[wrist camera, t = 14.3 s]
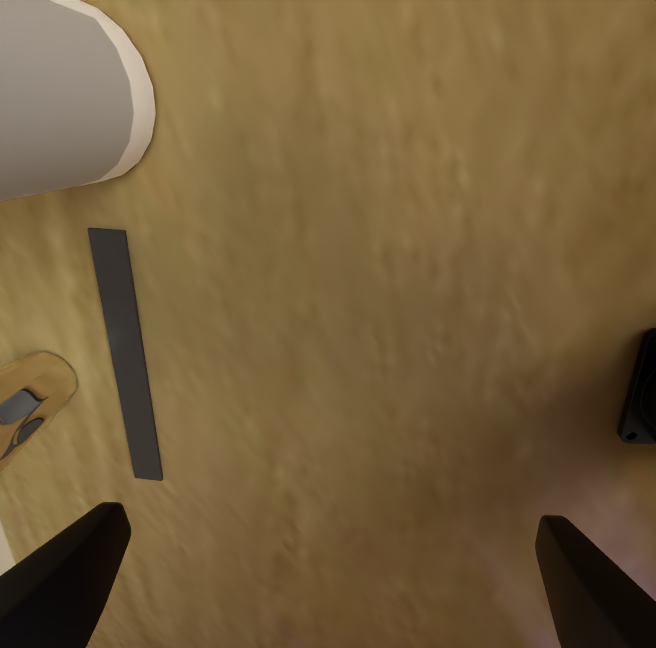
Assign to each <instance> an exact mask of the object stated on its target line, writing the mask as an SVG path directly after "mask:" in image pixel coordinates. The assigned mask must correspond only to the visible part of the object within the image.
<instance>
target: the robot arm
mask: <svg viewBox="0 0 656 648" xmlns="http://www.w3.org/2000/svg"><path fill="white" fill-rule="evenodd" d="M655 338H656V328H653V329H651V330H649V331H647V332H646V333H645V334H644V336H643V339H642V342H641V346H640V350H639V353H638V357H637V361H636V364H635V368H634V372H633V375H632V379H631V382H630V386H629V390H628V393H627V397H626V401H625V404H624V408H623V412H622V415H621V419H620V423H619V426H618V430H617V434H618V436H619V437H620V438H621V440H622V441H623V442H625V443H629V444H656V342H653V341H654V340H655ZM630 432H632V433H630ZM628 433H630V434H628ZM627 434H628V435H627ZM130 536H131V526H130V523H129V521H128V518H127V515H126V512H125V510H124V507H123V505H122V504H121V503H118V502H103V503H101V504H99V505H97V506H96V507H95V508H93V509H92V510H91V511H89V512H88V513H86V514H85V515H84V516H82V517H81V518H79V519H78V520H77V521H75V522H74V523H73V524H71V525H70V526H68V527H67V528H66V529H64V530H63V531H62V532H60V533H59V534H57V535H56V536H55V537H53V538H52V539H51V540H49V541H48V542H46V543H45V544H44V545H42V546H41V547H40V548H38V549H37V550H35V551H34V552H33V553H31V554H30V555H29V556H27V557H26V558H24V559H23V560H22V561H20V562H19V563H18V564H16V565H15V566H13V567H12V568H11V569H10V570H8V571H7V572H5V573H4V574H3V575H1V576H0V648H86V646H87V644H88V642H89V640H90V638H91V635H92V633H93V631H94V629H95V627H96V625H97V623H98V621H99V618H100V616H101V614H102V612H103V609H104V607H105V604H106V602H107V599H108V597H109V594H110V591H111V589H112V586H113V583H114V581H115V578H116V575H117V573H118V570H119V567H120V564H121V562H122V559H123V556H124V554H125V551H126V548H127V546H128V543H129V540H130ZM535 549H536V555H537V559H538V563H539V567H540V571H541V575H542V579H543V582H544V586H545V590H546V594H547V598H548V602H549V606H550V609H551V613H552V617H553V621H554V625H555V628H556V632H557V635H558V639H559V642H560V645H561V648H656V601H654V600H653V599H652V598H651V597H650V596H649V595H648V594H647V593H646V592H645V591H644V590H643V589H642V588H641V587H639V586H638V585H637V584H636V583H635V582H634V581H633V580H632V579H631V578H630V577H629V576H628V575H627V574H626V573H625V572H623V571H622V570H621V569H620V568H619V567H618V566H617V565H616V564H615V563H614V562H613V561H612V560H611V559H610V558H608V557H607V556H606V555H605V554H604V553H603V552H602V551H601V550H600V549H599V548H598V547H597V546H596V545H595V544H594V543H592V542H591V541H590V540H589V539H588V538H587V537H586V536H585V535H584V534H583V533H582V532H581V531H580V530H579V529H578V528H576V527H575V526H574V525H573V524H572V523H571V522H570V521H569V520H568V519H567V518H565V517H563V516H558V515H544V516H542V517H541V519H540V522H539V527H538V532H537V537H536V542H535Z"/></svg>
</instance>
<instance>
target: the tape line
mask: <svg viewBox="0 0 656 648" xmlns="http://www.w3.org/2000/svg"><path fill="white" fill-rule="evenodd" d="M88 233H89V239H90V244H91V249H92V254H93V260H94V265H95V270H96V276H97V281H98V286H99V291H100V297H101V302H102V307H103V312H104V318H105V323H106V328H107V333H108V339H109V344H110V349H111V355H112V360H113V365H114V370H115V376H116V381H117V386H118V391H119V397H120V402H121V407H122V413H123V418H124V423H125V428H126V434H127V439H128V444H129V449H130V455H131V460H132V465H133V470H134V476H135V478H141V479H150V480H159V481H162V480H163V474H162V468H161V461H160V454H159V448H158V441H157V435H156V428H155V421H154V415H153V408H152V402H151V395H150V389H149V382H148V375H147V369H146V362H145V356H144V349H143V343H142V336H141V329H140V323H139V316H138V310H137V303H136V296H135V290H134V283H133V277H132V270H131V264H130V257H129V250H128V244H127V237H126V231H124V230H111V229H98V228H88Z"/></svg>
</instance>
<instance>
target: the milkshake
mask: <svg viewBox="0 0 656 648" xmlns="http://www.w3.org/2000/svg"><path fill="white" fill-rule="evenodd" d="M76 389H77V382H76V376H75V372H74V371H73V370H72V369H71V368H70V366H69V365H68V364H67V363H66V362H65V361H64V360H63V359H62V358H60V357H57V356H55V355H52V354H50V353H47V352H40V353H34V354H29V355H27V356H25V357H23V358H21V359H19V360H17V361H16V362H14V363H12V364H10V365H8V366H6V367H5V368H3V369H1V370H0V474H1V473H2V471H3V470H4V469H5V468H6V467H7V466H8V465H9V463H10V462H11V461H12V459H13V458H14V457H15V456H16V455H17V454H18V453H19V451H20V450H21V449H22V448H23V447H24V446H25V445H26V444H27V443H28V442H29V441H30V440H31V439H32V438H33V436H34V435H35V434H36V433H37V432H38V431H39V430H40V429H41V428H42V427H43V426H44V425H45V424H46V423H47V422H48V420H49V419H50V418H51V417H52V416H53V415H54V414H55V413H56V412H57V411H58V410H59V409H60V408H61V407H62V406H63V404H64V403H65V402H66V401H67V400H68V399H69V398H70V396H71V395H72V394H73V392H74V391H75V390H76Z"/></svg>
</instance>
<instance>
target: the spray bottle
mask: <svg viewBox="0 0 656 648" xmlns="http://www.w3.org/2000/svg"><path fill="white" fill-rule="evenodd" d="M155 116H156V111H155V102H154V93H153V86H152V83H151V80H150V78H149V75H148V73H147V70H146V67H145V65H144V62H143V59H142V57H141V55H140V54H139V52H138V51H137V49H136V48H135V46H134V45H133V44H132V42H131V41H130V39H129V38H128V36H127V35H126V34H125V32H124V31H123V29H122V28H121V27H119V26H118V25H117V24H116V23H115V22H113V21H112V20H111V19H110V18H109V17H108V16H106V15H105V14H104V13H103V12H102V11H100V10H99V9H98V8H96V7H93V6H91V5H89V4H87V3H84V2H82V1H80V0H0V202H2V201H7V200H12V199H17V198H22V197H27V196H32V195H37V194H42V193H47V192H52V191H57V190H62V189H67V188H72V187H77V186H82V185H87V184H92V183H97V182H102V181H105V180H108V179H112V178H115V177H118V176H121V175H124V174H125V173H126V172H127V171H128V170H130V169H131V168H132V167H133V166H134V165H136V164H137V163H138V162H139V161H140V160H141V158H142V156H143V154H144V152H145V150H146V149H147V147H148V145H149V143H150V141H151V139H152V133H153V127H154V122H155Z"/></svg>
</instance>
